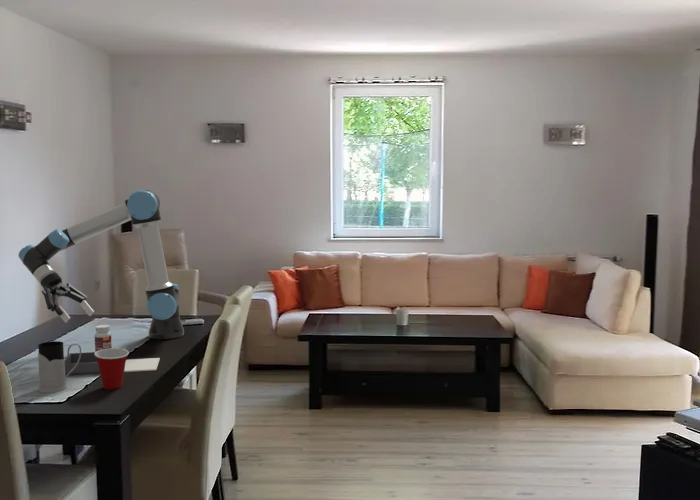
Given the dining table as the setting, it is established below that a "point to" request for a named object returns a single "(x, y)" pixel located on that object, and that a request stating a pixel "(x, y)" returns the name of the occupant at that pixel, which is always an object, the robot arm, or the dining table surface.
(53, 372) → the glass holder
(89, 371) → the mailer box
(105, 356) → the plastic cup
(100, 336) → the pill bottle
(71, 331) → the dining table surface
